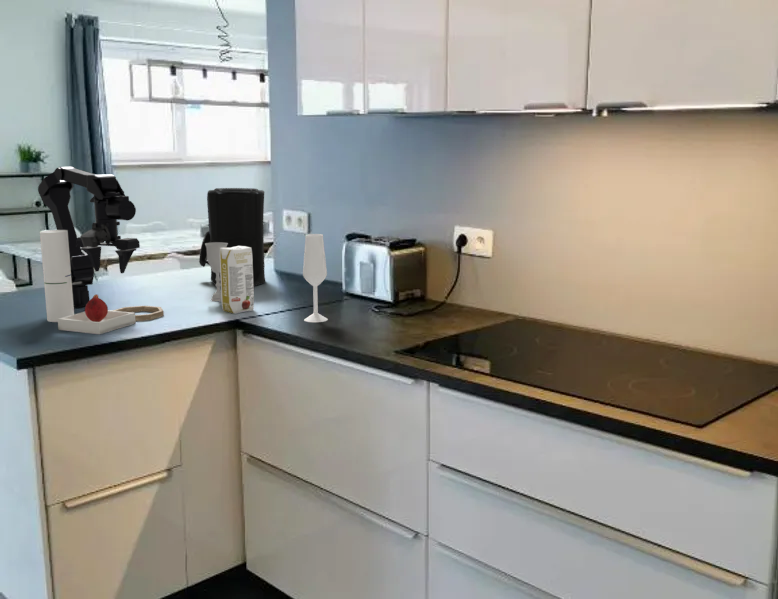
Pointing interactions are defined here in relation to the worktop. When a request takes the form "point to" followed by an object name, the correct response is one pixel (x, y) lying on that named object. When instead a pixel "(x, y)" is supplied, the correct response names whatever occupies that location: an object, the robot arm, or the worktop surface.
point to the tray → (87, 326)
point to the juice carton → (236, 279)
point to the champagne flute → (314, 269)
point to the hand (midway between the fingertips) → (109, 272)
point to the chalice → (215, 264)
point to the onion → (96, 309)
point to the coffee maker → (236, 225)
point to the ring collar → (157, 310)
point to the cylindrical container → (57, 274)
